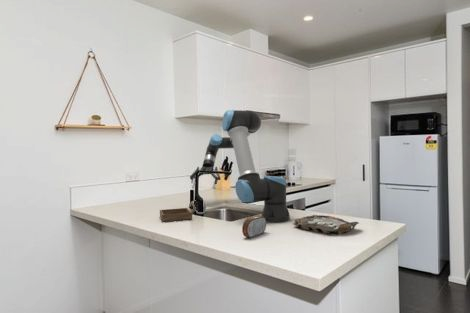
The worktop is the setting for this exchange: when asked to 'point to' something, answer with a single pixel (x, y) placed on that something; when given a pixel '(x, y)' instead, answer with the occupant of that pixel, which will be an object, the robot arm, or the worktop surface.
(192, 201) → the ceramic mug
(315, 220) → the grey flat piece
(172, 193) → the worktop surface
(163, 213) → the walnut box
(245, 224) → the tin
